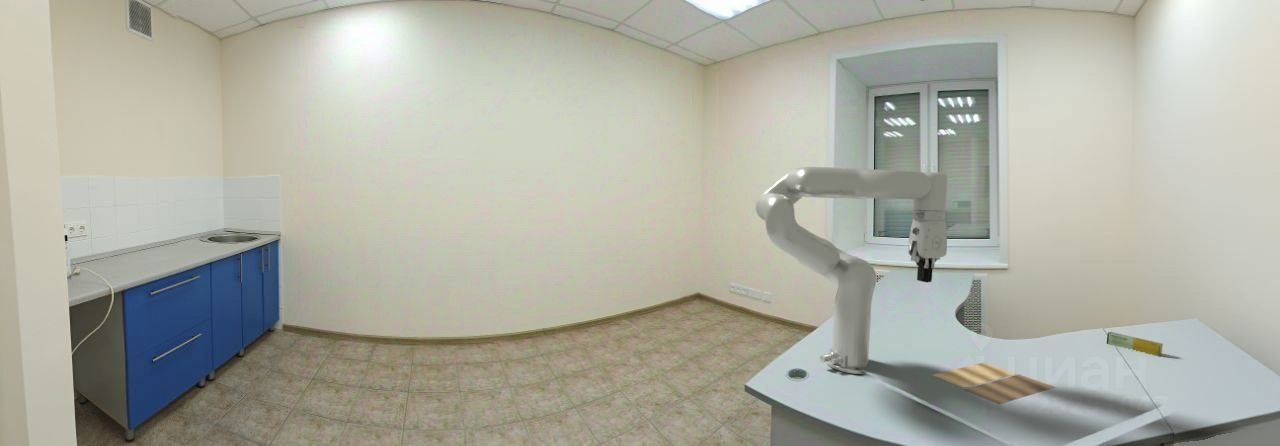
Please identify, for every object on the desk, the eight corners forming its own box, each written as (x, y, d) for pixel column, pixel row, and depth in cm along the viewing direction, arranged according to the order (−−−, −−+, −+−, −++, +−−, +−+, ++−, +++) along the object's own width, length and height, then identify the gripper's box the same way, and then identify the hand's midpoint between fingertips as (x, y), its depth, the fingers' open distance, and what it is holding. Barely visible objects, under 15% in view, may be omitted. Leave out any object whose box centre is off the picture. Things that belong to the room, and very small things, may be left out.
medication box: (1105, 344, 148) (1106, 332, 148) (1108, 342, 149) (1110, 331, 149) (1159, 357, 137) (1160, 344, 137) (1162, 355, 138) (1163, 343, 138)
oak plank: (962, 393, 112) (963, 388, 112) (931, 380, 120) (931, 375, 120) (1015, 378, 121) (1015, 373, 121) (983, 367, 128) (983, 362, 128)
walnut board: (998, 410, 105) (999, 403, 104) (963, 394, 112) (963, 389, 112) (1054, 392, 113) (1055, 386, 113) (1018, 379, 121) (1018, 374, 121)
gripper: (923, 218, 118) (918, 286, 120) (959, 217, 124) (955, 281, 126) (897, 216, 125) (893, 280, 127) (933, 214, 131) (929, 276, 133)
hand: (924, 281), depth 127 cm, fingers closed
